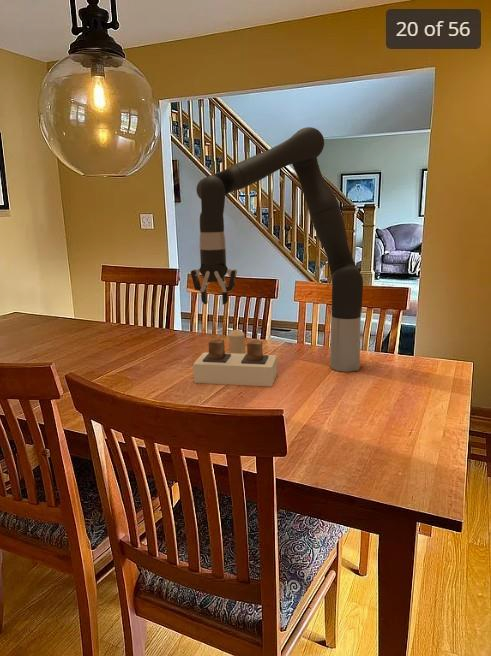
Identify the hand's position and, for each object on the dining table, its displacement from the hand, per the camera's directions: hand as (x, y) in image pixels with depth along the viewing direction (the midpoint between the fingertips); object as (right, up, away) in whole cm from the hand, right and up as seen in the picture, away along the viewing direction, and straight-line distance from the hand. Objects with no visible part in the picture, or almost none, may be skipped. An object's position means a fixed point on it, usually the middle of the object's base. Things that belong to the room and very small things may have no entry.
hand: (214, 303), depth 149 cm
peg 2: (+12, -18, +2) cm, 22 cm away
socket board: (+6, -23, +5) cm, 24 cm away
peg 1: (0, -18, +5) cm, 18 cm away
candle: (+6, -18, +24) cm, 31 cm away
